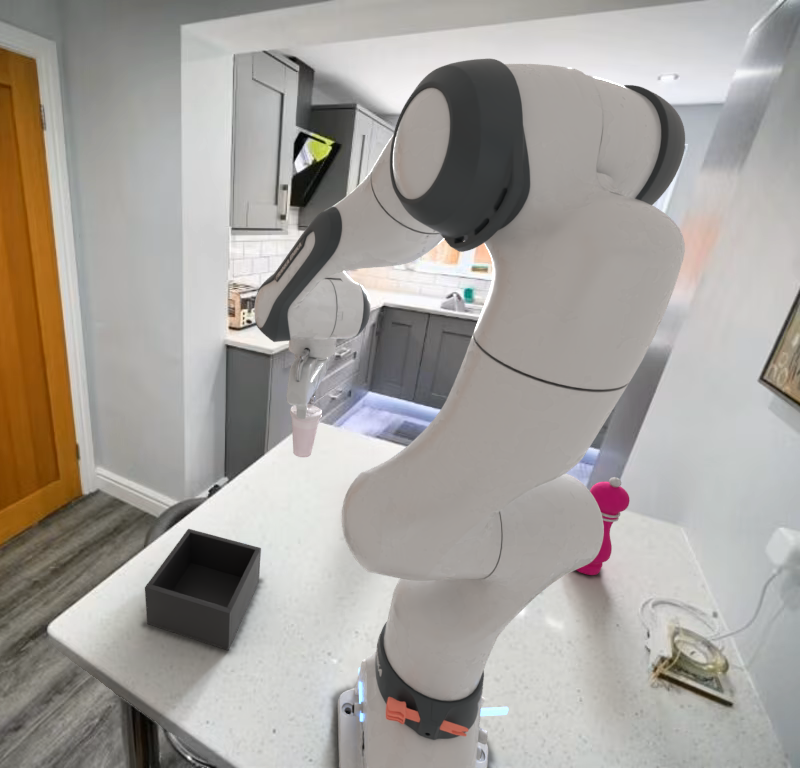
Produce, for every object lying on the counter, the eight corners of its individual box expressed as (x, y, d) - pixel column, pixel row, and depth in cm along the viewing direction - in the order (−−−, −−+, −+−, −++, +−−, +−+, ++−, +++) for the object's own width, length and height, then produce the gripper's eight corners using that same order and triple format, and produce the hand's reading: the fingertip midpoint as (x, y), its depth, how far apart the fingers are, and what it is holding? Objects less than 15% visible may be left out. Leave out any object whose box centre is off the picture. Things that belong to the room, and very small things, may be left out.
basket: (228, 650, 64) (229, 613, 62) (147, 623, 67) (144, 587, 65) (259, 581, 77) (261, 547, 74) (188, 561, 80) (188, 528, 77)
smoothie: (298, 442, 94) (303, 381, 89) (323, 452, 91) (330, 389, 86) (280, 453, 89) (285, 389, 84) (306, 464, 86) (312, 398, 81)
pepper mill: (605, 564, 87) (643, 479, 79) (598, 583, 82) (638, 495, 74) (565, 544, 91) (597, 462, 83) (556, 562, 86) (590, 477, 78)
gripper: (317, 360, 71) (309, 435, 76) (338, 332, 90) (331, 394, 95) (280, 354, 73) (275, 428, 78) (308, 328, 91) (303, 389, 96)
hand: (306, 409), depth 86 cm, fingers closed on smoothie, 6 cm apart
